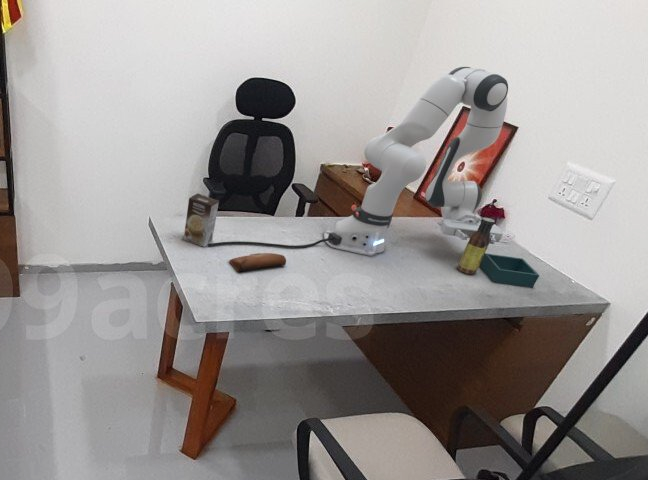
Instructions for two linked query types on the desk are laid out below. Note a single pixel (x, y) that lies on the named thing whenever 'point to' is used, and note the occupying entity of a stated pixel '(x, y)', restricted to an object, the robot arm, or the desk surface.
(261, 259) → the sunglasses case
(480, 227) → the sauce bottle
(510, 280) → the teal open box
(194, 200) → the coffee box
